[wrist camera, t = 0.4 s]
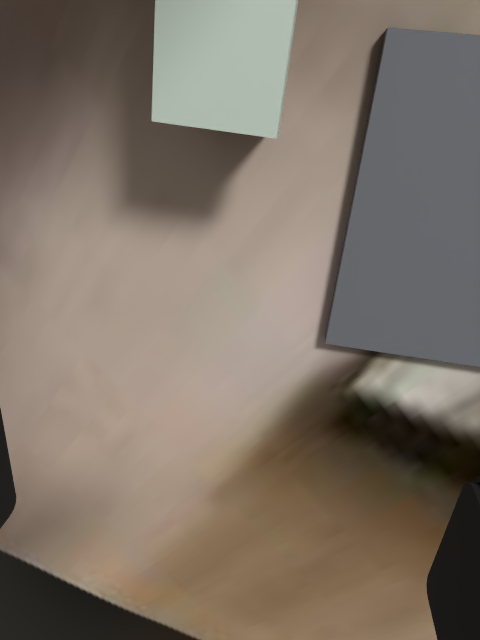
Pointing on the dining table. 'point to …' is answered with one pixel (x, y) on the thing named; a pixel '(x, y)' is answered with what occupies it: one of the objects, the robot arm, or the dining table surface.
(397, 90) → the mat
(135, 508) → the dining table surface
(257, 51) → the lid
